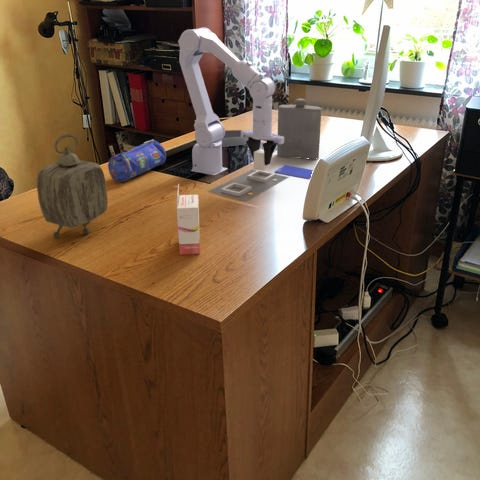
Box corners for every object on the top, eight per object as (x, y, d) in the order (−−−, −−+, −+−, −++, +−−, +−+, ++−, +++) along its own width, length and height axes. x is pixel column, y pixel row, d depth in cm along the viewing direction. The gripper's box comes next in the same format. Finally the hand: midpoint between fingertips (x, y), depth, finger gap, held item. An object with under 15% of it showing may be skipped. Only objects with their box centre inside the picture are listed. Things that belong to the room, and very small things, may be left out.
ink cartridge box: (200, 254, 124) (198, 195, 118) (179, 255, 124) (175, 196, 117) (200, 238, 132) (197, 181, 125) (179, 239, 132) (176, 182, 125)
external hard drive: (253, 147, 204) (253, 136, 202) (203, 151, 200) (202, 140, 198) (245, 138, 215) (245, 128, 213) (197, 141, 211) (197, 131, 209)
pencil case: (149, 162, 187) (147, 135, 183) (169, 165, 183) (168, 138, 179) (107, 181, 170) (103, 152, 166) (129, 185, 166) (125, 155, 162)
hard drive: (274, 171, 174) (309, 177, 168) (285, 164, 180) (319, 170, 174) (274, 175, 174) (309, 182, 169) (285, 168, 181) (319, 175, 175)
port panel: (207, 192, 160) (207, 188, 159) (251, 170, 177) (251, 166, 177) (246, 202, 152) (246, 197, 152) (288, 178, 170) (288, 174, 170)
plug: (253, 168, 168) (253, 151, 166) (260, 165, 171) (260, 148, 169) (263, 170, 166) (263, 153, 164) (270, 167, 169) (270, 150, 167)
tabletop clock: (88, 218, 143) (75, 125, 132) (114, 225, 139) (102, 130, 128) (45, 239, 132) (27, 139, 121) (72, 247, 128) (55, 145, 117)
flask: (320, 155, 192) (323, 98, 183) (317, 160, 187) (320, 102, 178) (279, 152, 196) (280, 96, 187) (275, 156, 191) (276, 100, 182)
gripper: (234, 119, 162) (235, 162, 168) (276, 125, 155) (275, 170, 161) (247, 114, 168) (247, 156, 174) (288, 120, 160) (286, 164, 166)
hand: (261, 163), depth 168 cm, fingers closed on plug, 4 cm apart
